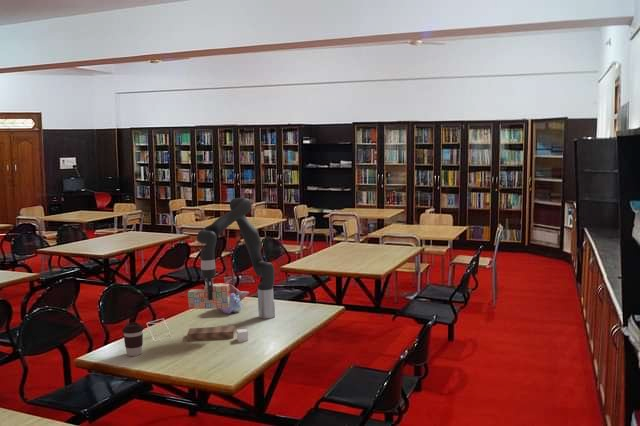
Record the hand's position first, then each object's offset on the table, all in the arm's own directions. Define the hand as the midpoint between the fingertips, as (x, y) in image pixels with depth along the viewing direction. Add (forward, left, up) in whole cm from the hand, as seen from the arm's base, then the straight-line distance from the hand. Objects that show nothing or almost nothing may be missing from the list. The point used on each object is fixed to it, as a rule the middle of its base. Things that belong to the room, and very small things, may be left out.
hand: (209, 298), depth 307 cm
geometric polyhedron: (+27, -8, -21) cm, 35 cm away
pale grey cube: (-15, +12, -21) cm, 29 cm away
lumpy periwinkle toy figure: (-16, -49, -21) cm, 56 cm away
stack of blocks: (0, 0, -5) cm, 5 cm away
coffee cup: (+39, +15, -21) cm, 47 cm away
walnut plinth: (0, 0, -21) cm, 21 cm away
